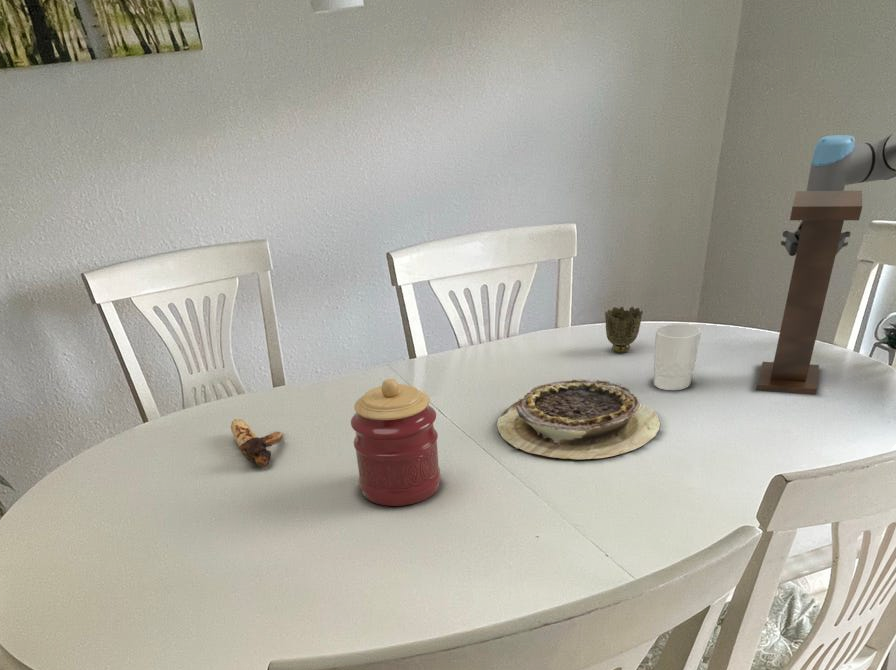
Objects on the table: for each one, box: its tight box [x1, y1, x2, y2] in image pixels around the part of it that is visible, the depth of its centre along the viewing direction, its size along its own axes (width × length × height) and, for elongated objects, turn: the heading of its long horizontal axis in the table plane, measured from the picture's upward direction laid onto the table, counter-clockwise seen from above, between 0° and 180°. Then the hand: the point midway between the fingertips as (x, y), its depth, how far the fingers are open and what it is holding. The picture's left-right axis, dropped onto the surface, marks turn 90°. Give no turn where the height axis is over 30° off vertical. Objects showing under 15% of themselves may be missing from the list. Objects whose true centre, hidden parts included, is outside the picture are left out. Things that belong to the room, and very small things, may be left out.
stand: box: [755, 190, 863, 395], centre depth 136 cm, size 10×12×30 cm
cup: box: [604, 306, 644, 354], centre depth 161 cm, size 8×7×8 cm
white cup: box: [652, 323, 702, 391], centre depth 145 cm, size 8×8×10 cm
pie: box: [496, 378, 661, 460], centre depth 136 cm, size 28×27×5 cm
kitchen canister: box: [350, 378, 441, 507], centre depth 119 cm, size 13×13×18 cm
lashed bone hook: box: [230, 418, 283, 468], centre depth 139 cm, size 9×5×18 cm
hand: (811, 259), depth 151 cm, fingers closed
